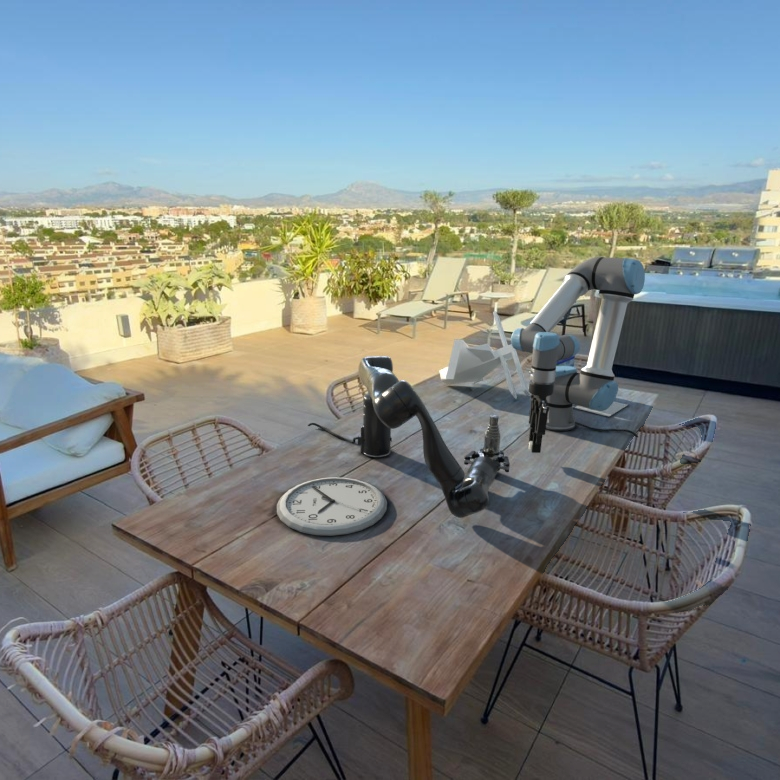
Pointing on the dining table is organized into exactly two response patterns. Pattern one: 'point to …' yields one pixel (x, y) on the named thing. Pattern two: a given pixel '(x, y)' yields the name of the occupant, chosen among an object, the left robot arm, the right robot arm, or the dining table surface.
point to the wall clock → (331, 506)
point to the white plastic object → (481, 362)
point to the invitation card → (608, 412)
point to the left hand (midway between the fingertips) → (492, 451)
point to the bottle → (492, 438)
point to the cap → (530, 445)
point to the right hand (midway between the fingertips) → (534, 449)
